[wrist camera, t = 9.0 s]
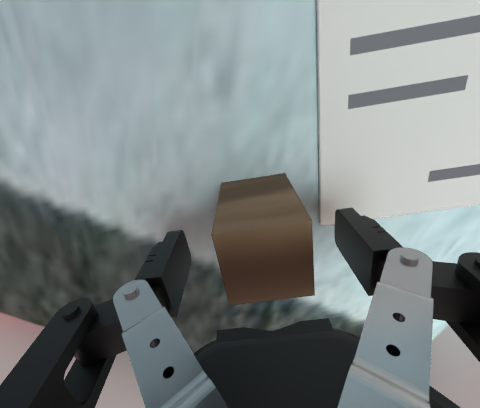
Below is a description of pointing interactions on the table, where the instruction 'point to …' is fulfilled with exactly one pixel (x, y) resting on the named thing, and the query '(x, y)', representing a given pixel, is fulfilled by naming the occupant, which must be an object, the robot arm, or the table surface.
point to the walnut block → (263, 241)
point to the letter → (398, 106)
